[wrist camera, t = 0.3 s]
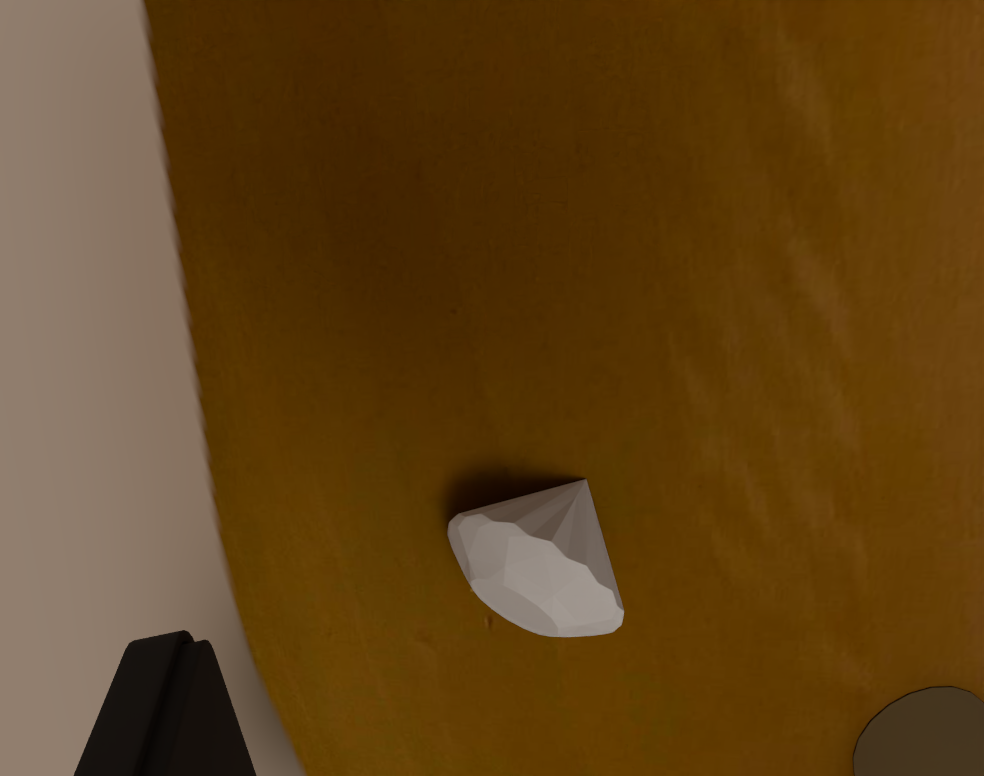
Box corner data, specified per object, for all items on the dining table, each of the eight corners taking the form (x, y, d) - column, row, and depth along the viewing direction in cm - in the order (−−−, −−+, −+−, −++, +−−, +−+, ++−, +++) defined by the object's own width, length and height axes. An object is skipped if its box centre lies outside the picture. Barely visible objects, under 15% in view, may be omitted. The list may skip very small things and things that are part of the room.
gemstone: (712, 523, 26) (646, 668, 23) (602, 543, 31) (539, 662, 29) (565, 397, 25) (480, 537, 22) (476, 440, 30) (400, 556, 28)
